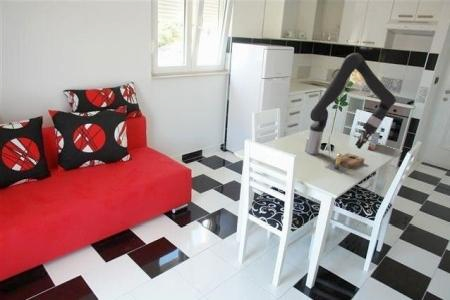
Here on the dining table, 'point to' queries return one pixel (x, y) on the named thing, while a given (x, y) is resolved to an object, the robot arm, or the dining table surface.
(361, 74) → the robot arm
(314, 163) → the dining table surface
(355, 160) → the brown flat lump
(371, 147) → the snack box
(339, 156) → the brass pin
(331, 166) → the rubber mat
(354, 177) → the dining table surface
